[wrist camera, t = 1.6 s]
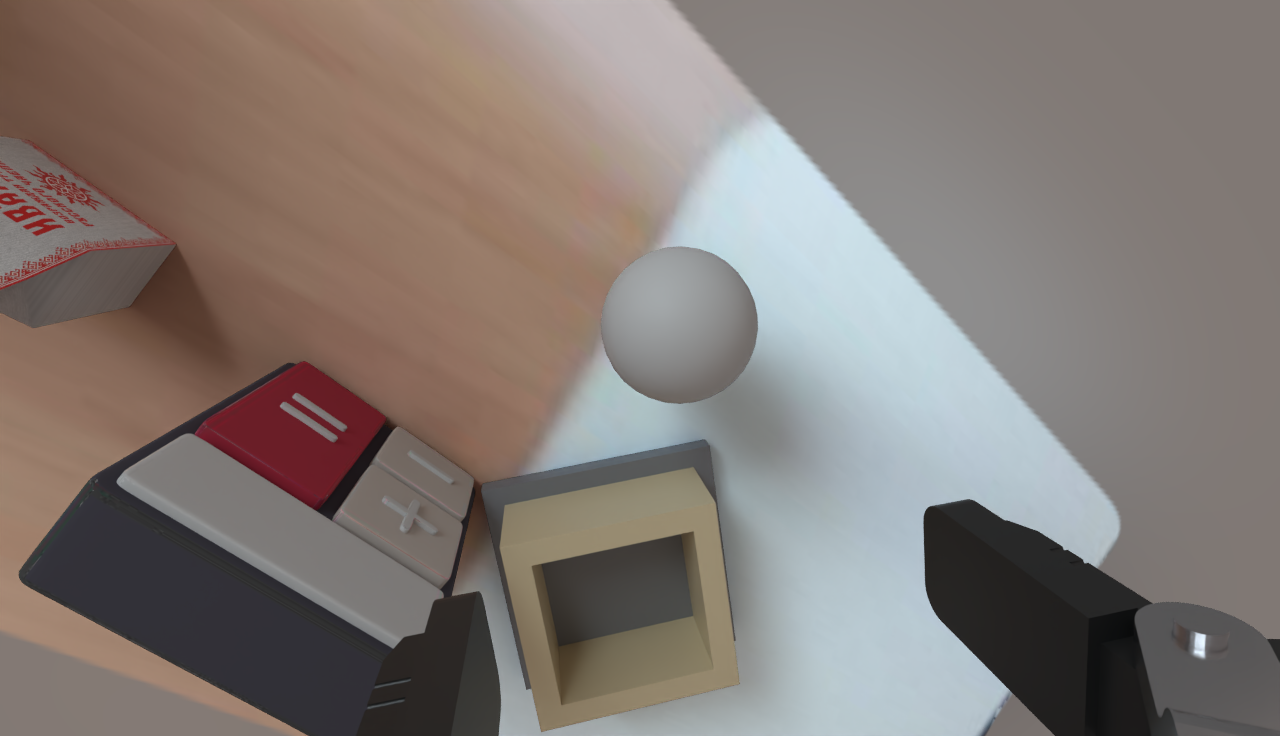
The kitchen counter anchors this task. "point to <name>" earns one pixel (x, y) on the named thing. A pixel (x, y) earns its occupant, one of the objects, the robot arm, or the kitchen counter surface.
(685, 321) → the lightbulb
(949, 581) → the robot arm
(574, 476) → the bulb holder
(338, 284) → the kitchen counter surface
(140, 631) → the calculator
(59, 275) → the grey block
